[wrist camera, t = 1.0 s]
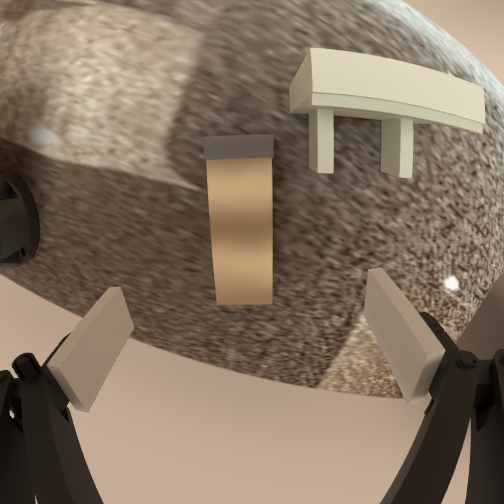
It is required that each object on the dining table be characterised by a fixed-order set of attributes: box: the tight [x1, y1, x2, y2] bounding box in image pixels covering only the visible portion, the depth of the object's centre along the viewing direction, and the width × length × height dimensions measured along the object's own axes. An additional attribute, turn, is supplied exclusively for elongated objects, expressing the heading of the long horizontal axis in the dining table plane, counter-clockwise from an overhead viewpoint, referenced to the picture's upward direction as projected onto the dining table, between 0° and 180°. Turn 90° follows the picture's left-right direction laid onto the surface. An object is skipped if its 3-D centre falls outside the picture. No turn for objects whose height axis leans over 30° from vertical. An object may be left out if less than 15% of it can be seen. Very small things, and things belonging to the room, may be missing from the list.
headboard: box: [289, 48, 485, 178], centre depth 21 cm, size 14×9×14 cm, turn 92°
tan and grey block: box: [203, 134, 274, 305], centre depth 28 cm, size 16×6×7 cm, turn 1°
